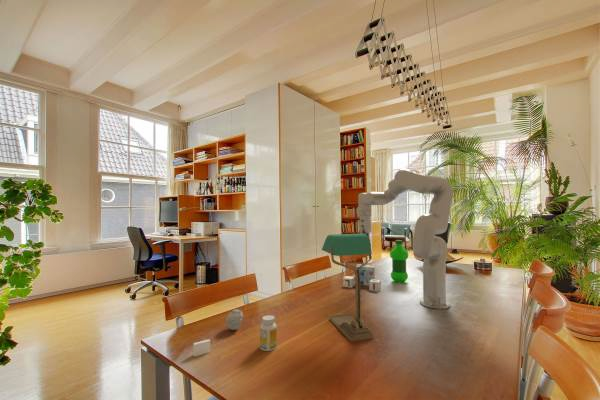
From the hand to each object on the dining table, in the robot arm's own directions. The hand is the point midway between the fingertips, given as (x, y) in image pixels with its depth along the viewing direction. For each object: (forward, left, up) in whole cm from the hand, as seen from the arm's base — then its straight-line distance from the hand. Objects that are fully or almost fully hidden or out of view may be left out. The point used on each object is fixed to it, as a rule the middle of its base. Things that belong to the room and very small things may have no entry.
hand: (365, 243), depth 166 cm
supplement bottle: (-89, +7, -24) cm, 92 cm away
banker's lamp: (-62, -11, -24) cm, 67 cm away
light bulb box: (0, 0, -24) cm, 24 cm away
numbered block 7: (-9, +7, -24) cm, 26 cm away
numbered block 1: (-9, -8, -24) cm, 27 cm away
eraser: (-102, +23, -24) cm, 107 cm away
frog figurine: (-84, +26, -24) cm, 91 cm away
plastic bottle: (+14, -17, -24) cm, 32 cm away
